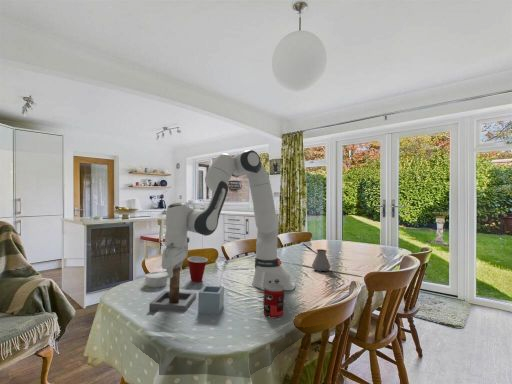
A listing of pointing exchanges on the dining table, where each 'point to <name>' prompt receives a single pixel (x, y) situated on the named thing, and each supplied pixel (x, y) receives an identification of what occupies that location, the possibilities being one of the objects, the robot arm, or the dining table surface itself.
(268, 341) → the dining table surface
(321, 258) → the coffee pot
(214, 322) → the dining table surface
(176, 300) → the walnut dowel
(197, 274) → the plastic cup
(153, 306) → the tray
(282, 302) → the canned food
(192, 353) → the dining table surface
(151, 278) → the ramekin
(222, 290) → the grey square bin
